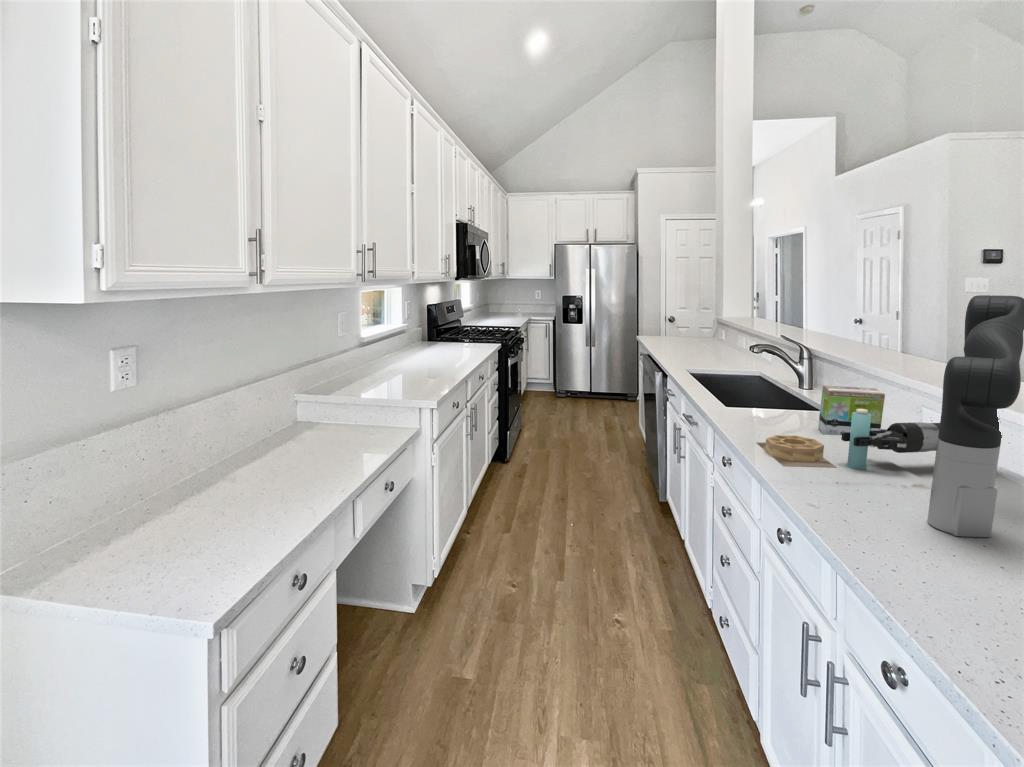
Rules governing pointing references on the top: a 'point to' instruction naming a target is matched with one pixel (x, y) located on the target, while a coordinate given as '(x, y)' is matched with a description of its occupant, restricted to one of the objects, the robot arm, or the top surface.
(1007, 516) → the top surface
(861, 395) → the tea box
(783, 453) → the tan octagonal ring
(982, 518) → the robot arm
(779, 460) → the board
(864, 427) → the teal bottle
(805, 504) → the top surface
